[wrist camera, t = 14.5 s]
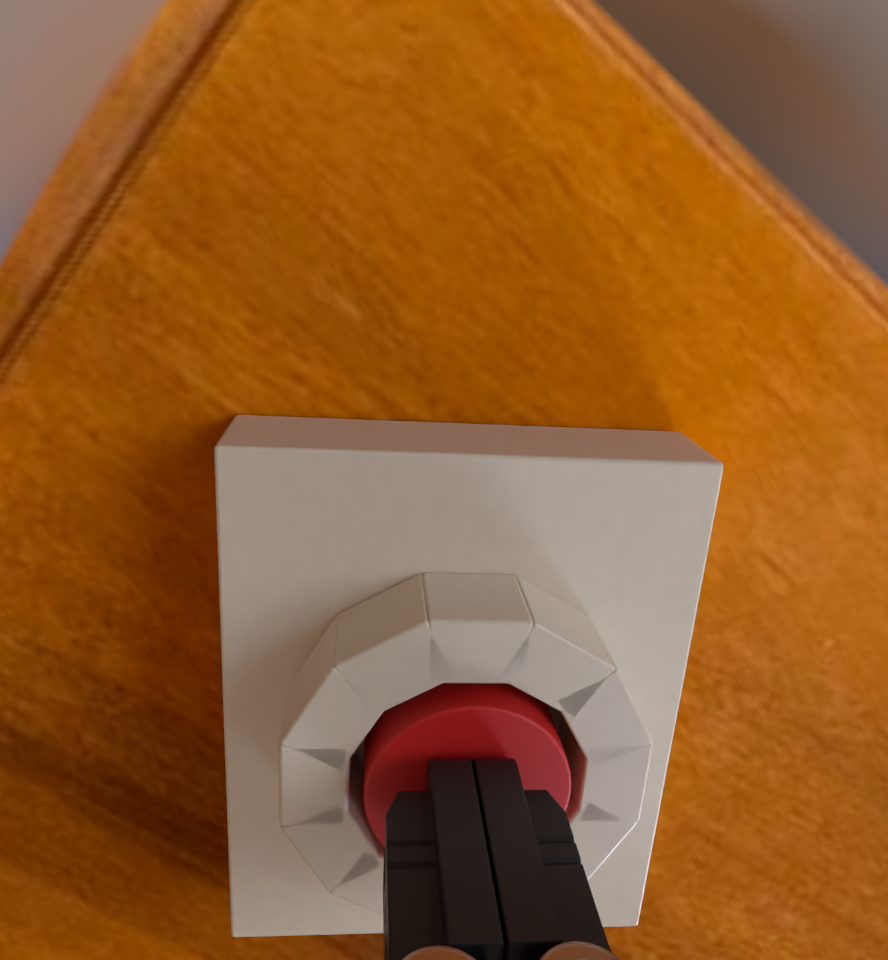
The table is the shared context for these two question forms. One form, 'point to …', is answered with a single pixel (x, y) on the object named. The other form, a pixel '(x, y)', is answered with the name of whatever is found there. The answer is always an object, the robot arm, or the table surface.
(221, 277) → the table surface
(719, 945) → the table surface
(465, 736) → the button
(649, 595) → the button box
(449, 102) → the table surface
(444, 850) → the robot arm
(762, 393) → the table surface
